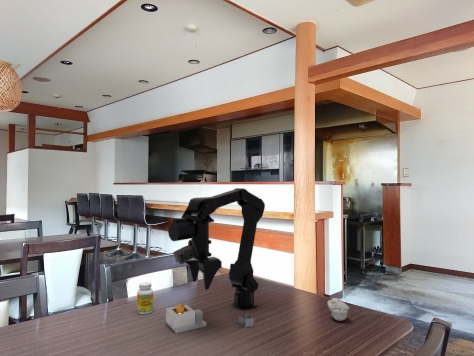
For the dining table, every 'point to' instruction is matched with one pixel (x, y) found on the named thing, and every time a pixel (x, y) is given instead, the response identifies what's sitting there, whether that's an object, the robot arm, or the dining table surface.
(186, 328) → the peg stand
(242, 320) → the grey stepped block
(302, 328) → the dining table surface
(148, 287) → the supplement bottle
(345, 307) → the grey stone carving
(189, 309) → the grey square frame
